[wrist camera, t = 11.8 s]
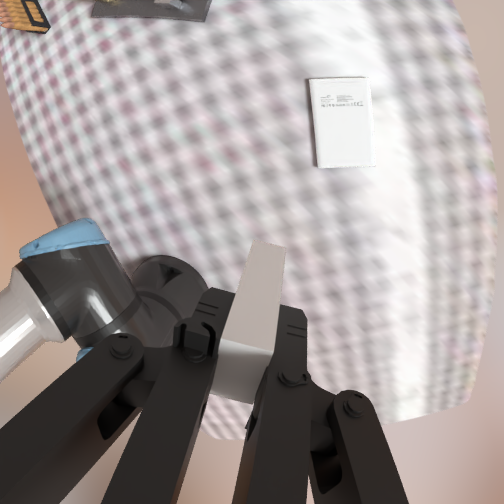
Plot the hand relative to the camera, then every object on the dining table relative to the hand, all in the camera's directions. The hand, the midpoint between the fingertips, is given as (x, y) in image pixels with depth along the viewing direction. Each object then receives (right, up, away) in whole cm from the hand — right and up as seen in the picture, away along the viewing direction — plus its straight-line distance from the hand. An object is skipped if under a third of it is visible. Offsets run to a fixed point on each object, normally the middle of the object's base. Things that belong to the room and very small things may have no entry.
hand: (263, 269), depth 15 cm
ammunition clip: (-41, +46, +21) cm, 65 cm away
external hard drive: (+12, +19, +25) cm, 33 cm away
